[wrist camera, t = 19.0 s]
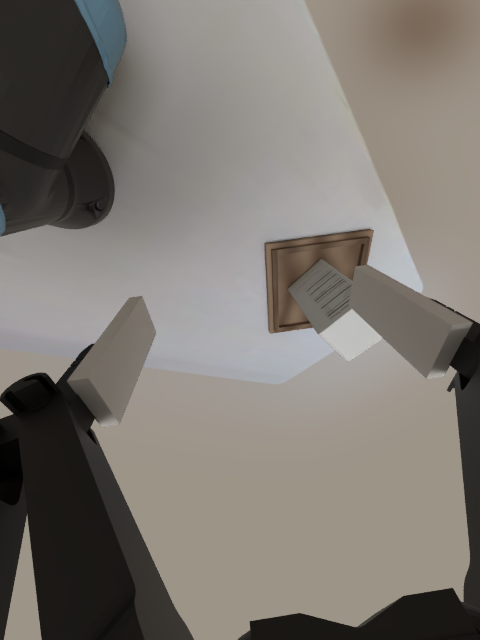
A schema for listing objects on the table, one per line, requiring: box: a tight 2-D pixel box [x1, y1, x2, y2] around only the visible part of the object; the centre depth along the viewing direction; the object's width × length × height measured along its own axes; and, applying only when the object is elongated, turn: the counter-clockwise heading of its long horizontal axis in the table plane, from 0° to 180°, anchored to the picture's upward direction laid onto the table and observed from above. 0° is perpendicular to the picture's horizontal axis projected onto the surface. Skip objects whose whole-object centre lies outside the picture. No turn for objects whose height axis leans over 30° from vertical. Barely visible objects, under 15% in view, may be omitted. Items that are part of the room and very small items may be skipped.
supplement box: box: [288, 259, 383, 362], centre depth 41 cm, size 10×9×17 cm
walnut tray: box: [265, 229, 374, 334], centre depth 48 cm, size 21×21×2 cm
